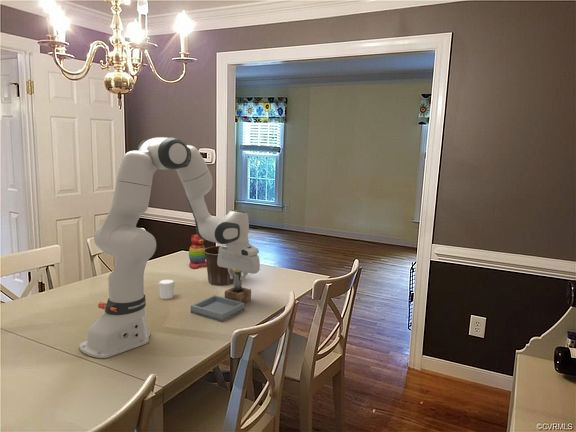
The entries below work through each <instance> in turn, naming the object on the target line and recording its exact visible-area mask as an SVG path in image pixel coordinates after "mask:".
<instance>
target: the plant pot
mask: <svg viewBox="0 0 576 432" xmlns="http://www.w3.org/2000/svg"><path fill="white" fill-rule="evenodd" d="M220 246H221V245H215V246H209V247H205V249H204V253H205V261H206V264H207V267H206V270H207V271H206V272H207V282H208V283H209V284H210V285H213V286H219V285H221V286H228V285H231V284H232V283H234V279H230V274H229V272H228V268H224V267H219V266H218V264H217V259H218V253H219V247H220ZM233 273H234V272H233Z"/></svg>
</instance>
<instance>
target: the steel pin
mask: <svg viewBox="0 0 576 432" xmlns="http://www.w3.org/2000/svg"><path fill="white" fill-rule="evenodd" d="M232 271H233V272H234V279H233V287H234V292H238V293H240V292H241V289H242V282H243V281H240V280H241V279H240V277H242V276H243V274H242V271H238V270H236V269H232Z"/></svg>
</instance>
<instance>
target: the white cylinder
mask: <svg viewBox="0 0 576 432" xmlns="http://www.w3.org/2000/svg"><path fill="white" fill-rule="evenodd" d="M157 283H158V289H159V290H158V291H159V297H160V300H161V299H162V300H170V299H172V298H174V297H175V296H174V295H175V280H174V279H171V278H170V279H168V278H167V279H160V280H159V281H158V282H157Z"/></svg>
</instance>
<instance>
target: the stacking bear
mask: <svg viewBox="0 0 576 432" xmlns="http://www.w3.org/2000/svg"><path fill="white" fill-rule="evenodd" d="M190 241H191V246H190V247H189V250H188V258H189V264H188V266H189V268H190V269H192V270H197V269H200V268H207V264H206V259H205V253H204V249H206V247H205V245H204V243H205V240H202V239H201V238H199V236H198V235H197V233H196V234H192V235H191V239H190Z"/></svg>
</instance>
